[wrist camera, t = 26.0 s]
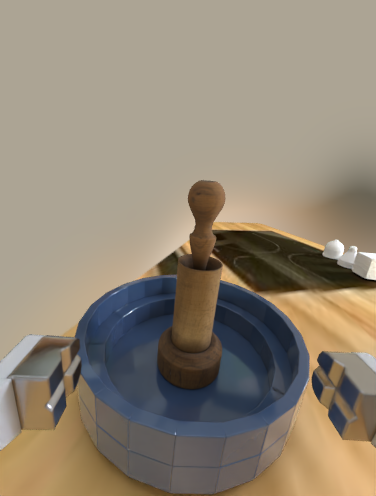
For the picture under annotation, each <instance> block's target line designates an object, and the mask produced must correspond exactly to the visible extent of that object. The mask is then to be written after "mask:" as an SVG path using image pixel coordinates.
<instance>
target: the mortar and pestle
mask: <svg viewBox="0 0 376 496" xmlns="http://www.w3.org/2000/svg"><path fill="white" fill-rule="evenodd" d="M188 203H189V206H190V208H191V211H192V213H193V216H194V218H195V222H196V225H195V229H194V231H193V233H191V234H190V246H191V252H192V254H187V255H184V256H181V257H179V259H178V270H177V283H176V295H175V306H174V316H173V326H171V327H169V328H168V329H166V330H165V331H164V332H163V333H162V335H161V336H160V339H159V343H158V355H157V363H158V368H159V370H160V372H161V374H162V375H163V377H164V378H165V379H166V380H167V381H169V382H170V383H171V384H173V385H175V386H177V387H180V388H184V389H199V388H203V387H206V386H208V385H209V384H211V383H212V382H213V381H214V380H215V378H216V377H217V375H218V372H219V368H220V362H221V357H222V345H221V342H220V340H219V338H218V337H217V336H216V335H215V334H214V333H213V332H212V329H213V322H214V316H215V309H216V303H217V297H218V291H219V285H220V279H221V273H222V266H223V265H222V263H221V262H220V261H219V260H217V259H215V258H212V257H210V254H211V252H212V250H213V247H214V244H215V241H216V236H215V235H213V233H212V225H213V222H214V220H215V219H216V217H217V216H218V214H219V212H220V211H221V210H222V208H223V206H224V204H225V192H224V189H223V187H222V186H221V185H220V184H219V183H218V182H215V181H204V180H201V181H198V182H196V183H195V184H194V185H193V186H192V188H191V189H190V191H189V195H188Z"/></svg>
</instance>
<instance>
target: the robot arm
mask: <svg viewBox="0 0 376 496" xmlns="http://www.w3.org/2000/svg"><path fill="white" fill-rule="evenodd" d="M80 348H81V347H80V339H78V338H74V337H61V336H48V335H47V336H43V335H32V334H30V335H28V336H25V337H24V338H23V339H22V340H21V341H20V343H18V344H17V345H16V346H15V347H14V348H13V349H12V350H11V351H10V352H9V353H8V354H7V355H6V356H5V357H4V358H3V359H2V360H1V361H0V451H1V450H2V449H3V448H4V447H5V446H6V445H8V444H9V443H10V442H11V441H12V440H13V439H14V438H15V437H17V436H18V435H19V434H20V433H21V432H22V431H21V430H54V429H55V427H56V425H57V423H58V421H59V419H60V418H61V416H62V414H63V412H64V410H65V408H66V397H67V396H69V395H70V394H71V393H73V392H74V390H75V388H76V386H77V384H78V381H79V378H80V374H81V368H82V360H81V358H80V357H79V356H78V355H77V353H78V352H79V350H80ZM317 361H318V363H319V365H320V366H319V367H318V368H316V369H315V370H314V371H313V375H312V387H313V390H314V393H315V395H316V397H317V398H318V400H319V402H320V403H321V404H323V405H324V406H325V407H326V408H328V409H329V411H328V417H329V418H330V420H331V421H332V423H333V425H334V426H335V428H336V430H337V431H338V433H339V434H340V436H341V438H342V439H343V440H354V441H369V442H371V444H372V445H373V446H374V447H375V448H376V359H375V358H374V357H373V356H372V355H370V354H368V353H356V352H351V353H349V352H328V351H322V352H321V353H320V354H319V357H318V359H317Z"/></svg>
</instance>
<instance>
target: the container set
mask: <svg viewBox="0 0 376 496" xmlns="http://www.w3.org/2000/svg"><path fill="white" fill-rule="evenodd" d="M343 252H344V246H343V244H342V243H340V242H339V240H335V241H331V242H329V243H327V244H326V246H325V249H324V252H323V254H322V255H323V256H325V257H328V258H331V259H337V260H338V262H337V264H338V265H340V266H342V267H346V268H350V269H352V271H353V272H355V273H356V274H358V275H360V276H361V277H363V278H366V279H372V280H376V254H374V253H363V252H359V253H356V252H357V247H355V246H350V247H349V250H348V252H346V253H345V254H343Z"/></svg>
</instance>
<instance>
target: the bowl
mask: <svg viewBox="0 0 376 496" xmlns="http://www.w3.org/2000/svg"><path fill="white" fill-rule="evenodd" d="M176 283H177V275H160V276H154V277H148V278H142V279H139V280H135V281H132V282H129V283H126V284H123V285H121V286H120V287H117V288H115V289H114V290H111V291H109V292H107V293H106V294H104V295H103V296H102V297H101V298H99V299H98V300H97V301H96V302H94V303H93V304H92V305H91V306H90V307H89V309H88V310H87V312H86V313H85V314H84V316H83V317H82V319H81V320H80V321H79V323H78V327H77V331H76V335H75V338H78V339H80V347H81V348H80V350H79V352H78V353H77V355H78V356H79V357H80V358H81V360H82V368H81V374H80V378H79V381H78V384H77V394H78V401H79V408H80V415H81V419H82V422H83V424H84V426H85V428H86V429H87V431H88V433H89V435H90V437H91V439H92V440H93V442H94V444H95V446H96V448H97V450H99V452H101V453H102V454H103V455H104V456H105V457H106V458H107V459H109V460H110V461H111V462H112V463H113V464H114V465H115V466H116V467H118V468H119V469H120V470H121V471H122V472H123V473H124V474H126V475H127V476H129V477H130V478H132V479H135V480H137V481H140V482H142V483H145V484H148V485H150V486H153V487H155V488H158V489H160V490H163V491H165V492H168V493H169V492H170V493H177V494H214V493H215V494H216V493H218V492H221V491H224V490H227V489H230V488H232V487H235V486H238V485H241V484H243V483H246V482H249V481H252V480H253V479H255V478H256V477H257V476H258V475H259V474H261V473H262V472H263V471H264V470H265V469H266V468H267V467H268V466H269V465H270V464H272V463H273V462H274V461H275V460H276V459H277V458H278V457H279V456H280V455H281V453H282V451H283V449H284V447H285V445H286V443H287V441H288V438H289V436H290V434H291V432H292V430H293V428H294V425H295V422H296V419H297V416H298V412H299V409H300V406H301V403H302V400H303V397H304V394H305V391H306V388H307V385H308V382H309V353H308V350H307V348H306V345H305V343H304V340H303V337H302V335H301V334H300V332H299V331H298V330H297V328H296V327H295V326H294V324H293V323H292V322H291V320H290V319H289V318H288V317H287V316H286V315H285V314H284V313H283V312H282V311H280V310H279V309H278V308H277V307H276V306H275V305H273V304H272V303H271V302H269V301H267V300H266V299H264V298H262V297H261V296H259V295H257V294H256V293H254V292H252V291H249V290H247V289H245V288H242V287H240V286H238V285H235V284H232V283H228V282H225V281H222V280H220V285H219V291H218V297H217V303H216V309H215V316H214V322H213V329H212V332H213V333H214V334H215V335H216V336H217V337H218V338H219V340H220V342H221V345H222V357H221V362H220V368H219V372H218V375H217V377H216V378H215V380H214V381H213V382H212V383H211V384H209V385H208V386H206V387H203V388H199V389H184V388H180V387H177V386H175V385H173V384H171V383H170V382H169V381H167V380H166V379H165V378H164V377H163V375H162V374H161V372H160V370H159V368H158V363H157V355H158V343H159V339H160V336H161V335H162V333H163V332H164V331H165V330H166V329H168V328H169V327H171V326H173V316H174V306H175V295H176Z"/></svg>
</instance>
